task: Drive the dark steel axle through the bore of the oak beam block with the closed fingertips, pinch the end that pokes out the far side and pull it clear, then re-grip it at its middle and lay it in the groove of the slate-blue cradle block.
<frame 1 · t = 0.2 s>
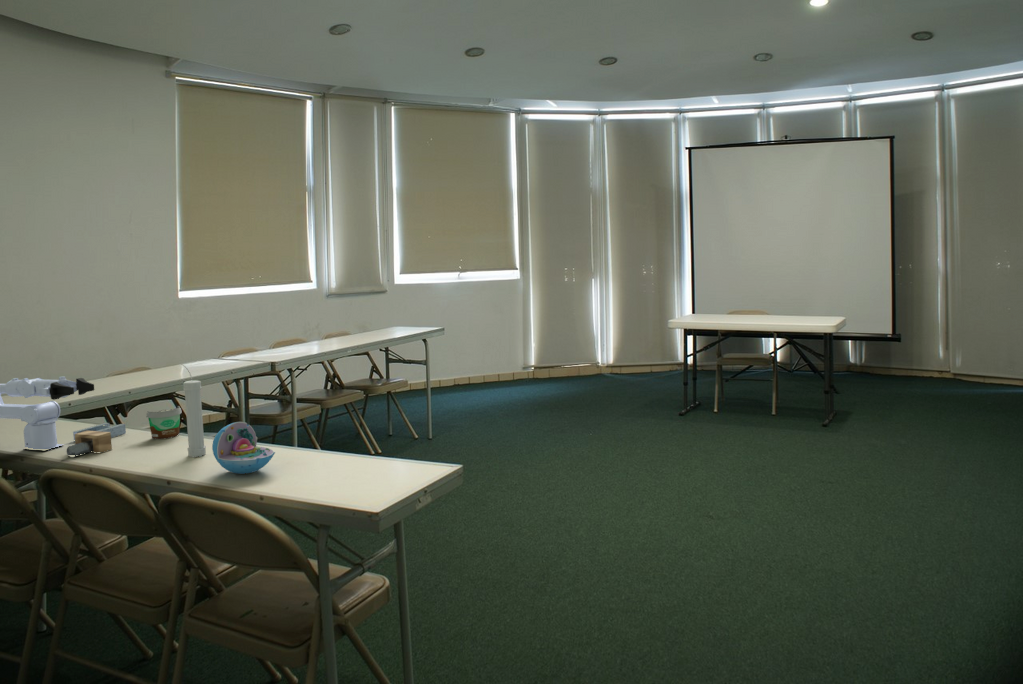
hand: (83, 389, 241), 21 cm above the table, tool horizontal, fingers open, 7 cm apart
educational model: (245, 472, 219), on the table
pipe: (196, 455, 239), on the table
beam: (94, 450, 246), on the table
axle: (87, 453, 244), on the table, tilted 5°
cradle: (100, 437, 264), on the table
food container: (169, 437, 264), on the table
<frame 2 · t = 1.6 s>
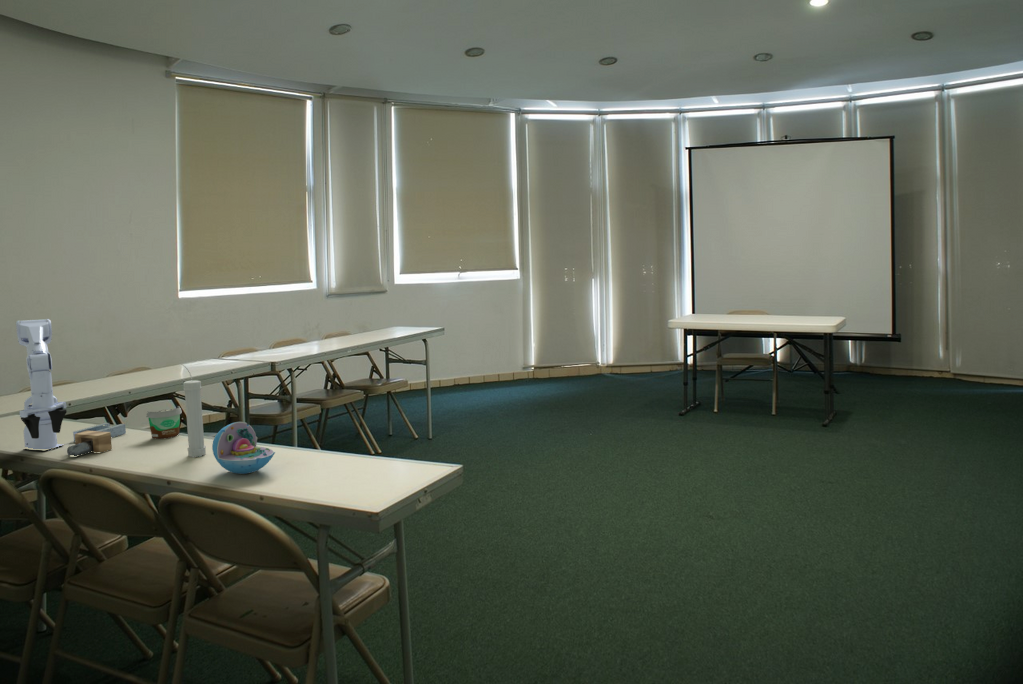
hand: (46, 435, 229), 9 cm above the table, tool pointing down, fingers open, 7 cm apart
nothing on the table moved.
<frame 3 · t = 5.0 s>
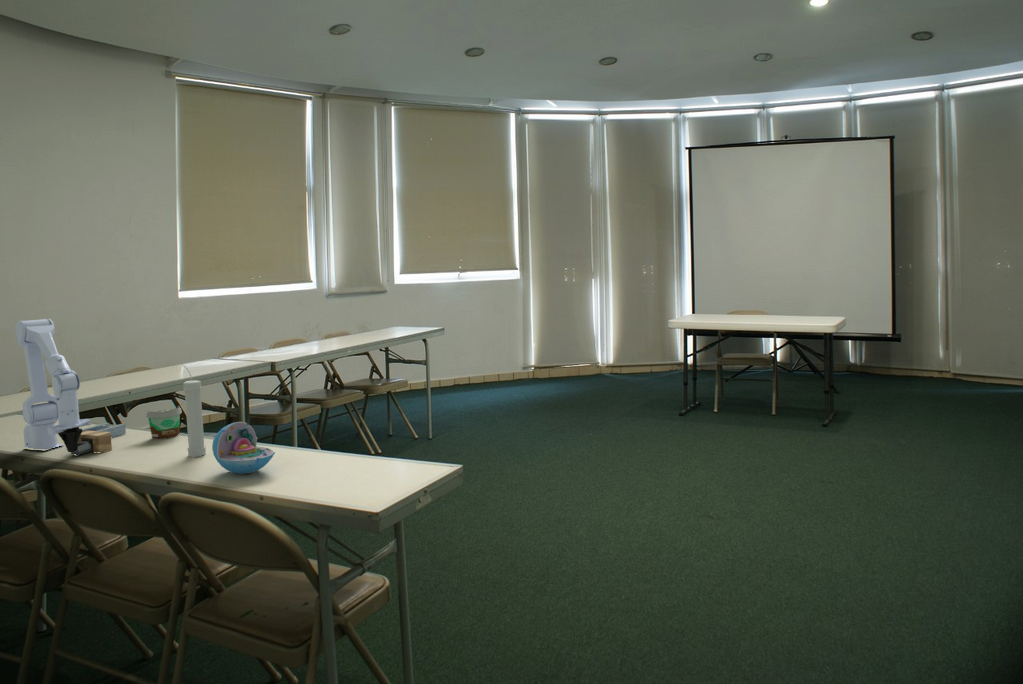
hand: (71, 451, 238), 2 cm above the table, tool pointing down, fingers closed
axle: (91, 451, 245), on the table, tilted 6°, touching gripper
everything else where it was.
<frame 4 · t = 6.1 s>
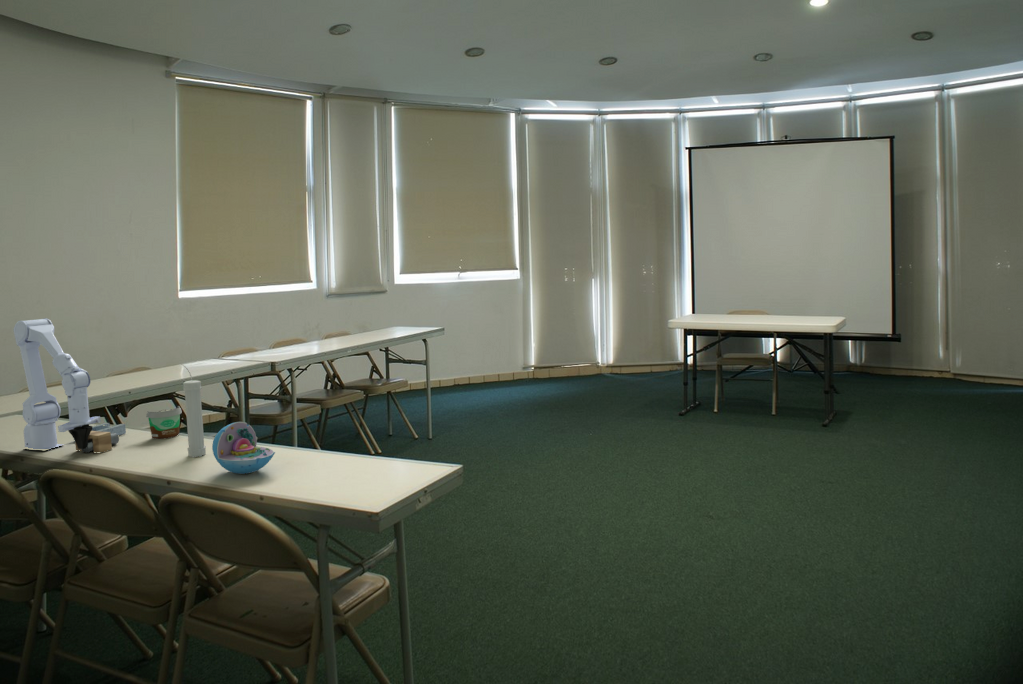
hand: (82, 448, 242), 2 cm above the table, tool pointing down, fingers closed
axle: (100, 448, 249), on the table, tilted 6°, touching gripper
everything else where it was.
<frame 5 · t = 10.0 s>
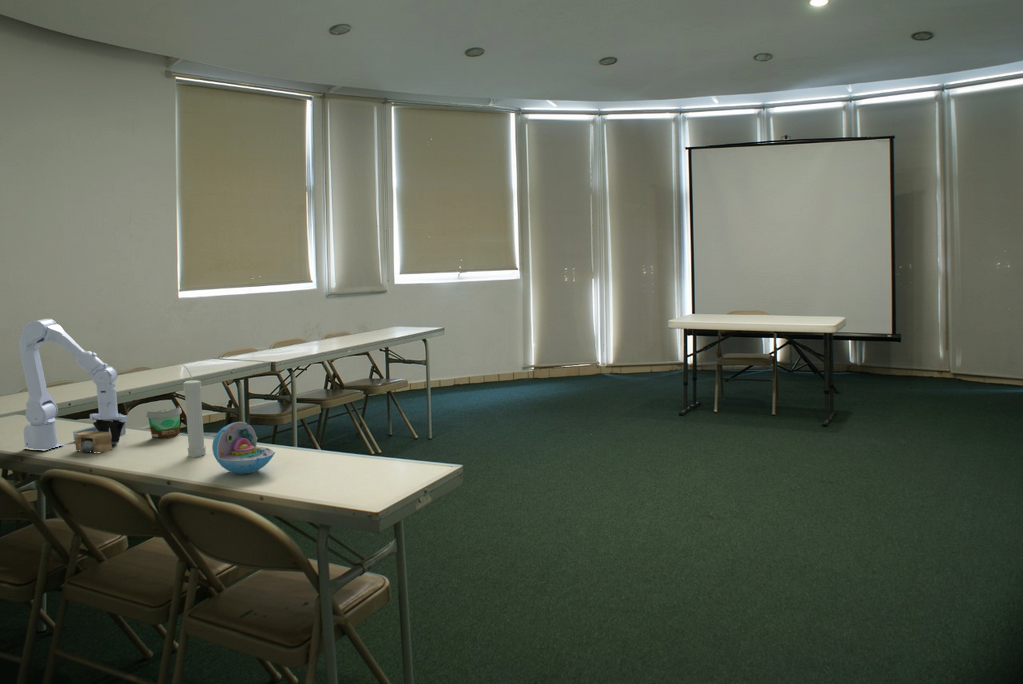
hand: (110, 441, 253), 1 cm above the table, tool pointing down, fingers closed on axle, 4 cm apart
axle: (100, 448, 249), on the table, touching gripper
everything else where it was.
when the fingers open (1 cm above the table, at t = 12.2 s): axle stays where it is, on the table.
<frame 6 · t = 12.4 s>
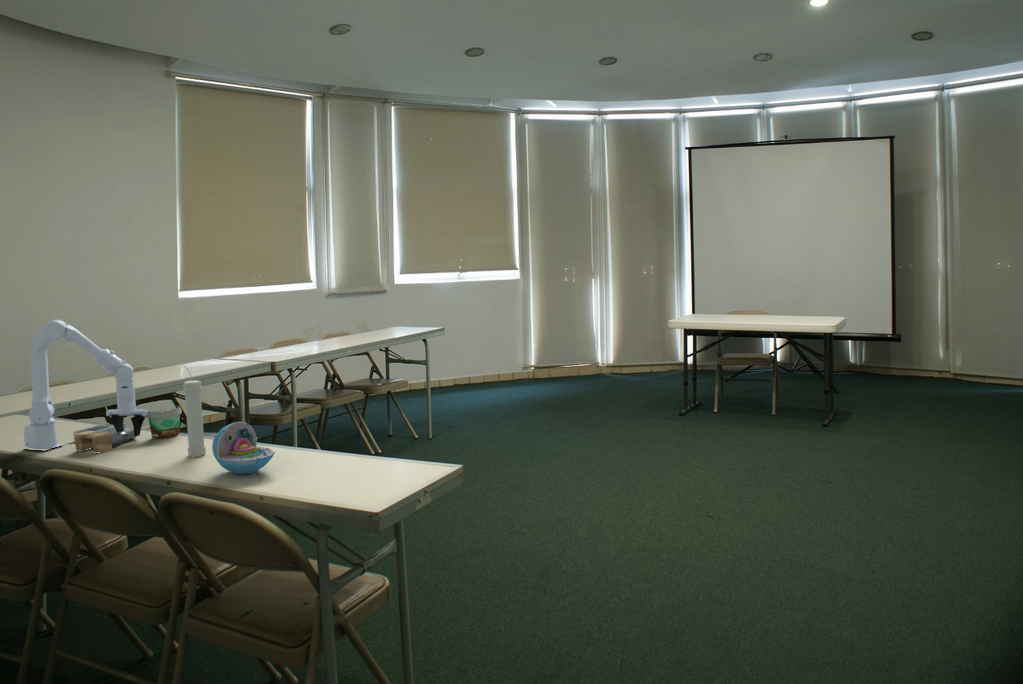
hand: (129, 435, 260), 1 cm above the table, tool pointing down, fingers open, 6 cm apart
axle: (120, 443, 256), on the table
everything else where it was.
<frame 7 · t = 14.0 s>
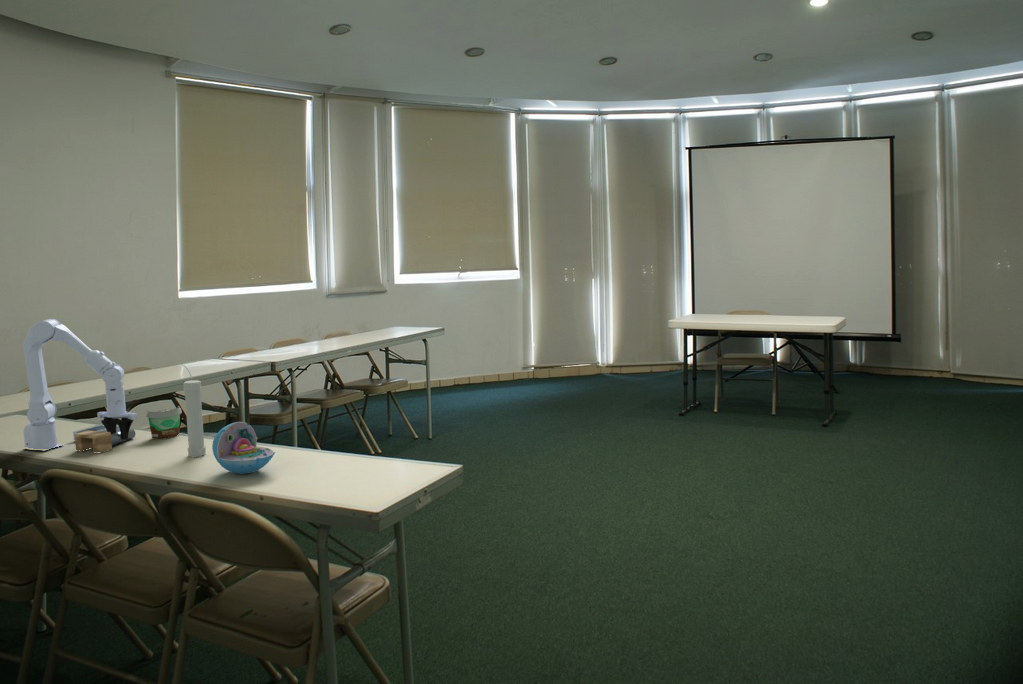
hand: (118, 438, 256), 1 cm above the table, tool pointing down, fingers closed on axle, 4 cm apart
axle: (120, 442, 256), on the table, tilted 18°, touching gripper
everything else where it was.
when the fingers open (5 cm above the table, at t = 17.6 s): axle stays where it is, resting on cradle.
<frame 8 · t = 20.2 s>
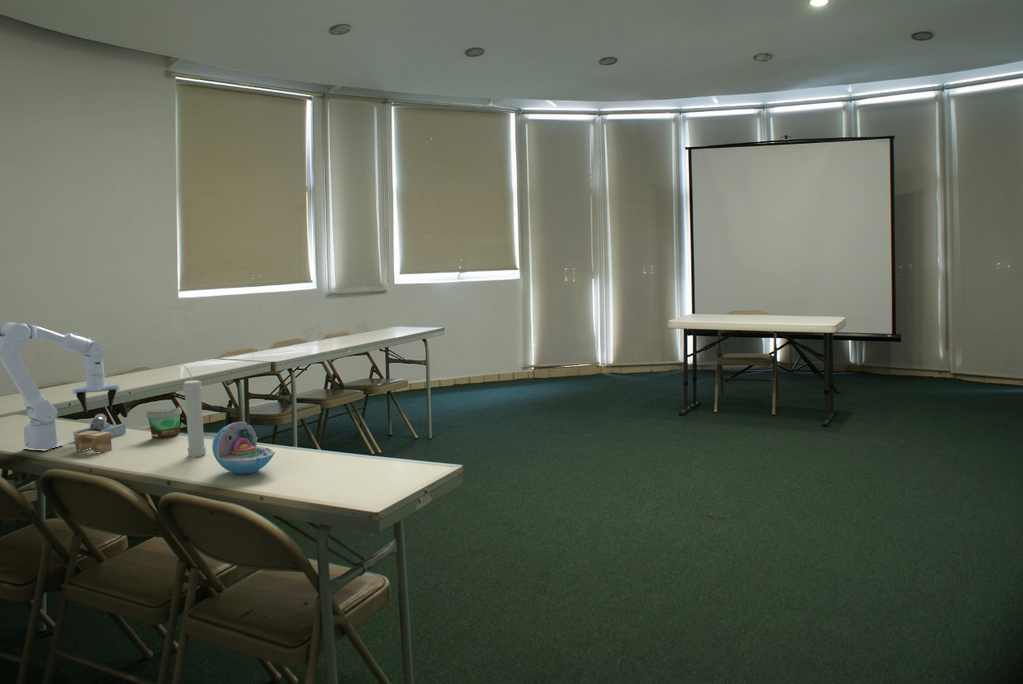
hand: (98, 411, 263), 9 cm above the table, tool pointing down, fingers open, 7 cm apart
axle: (102, 426, 264), point 4 cm above the table, tilted 30°, touching cradle
everything else where it was.
at the end: axle inside the target area on the cradle (0.8 cm from its centre), point 3.8 cm above the cradle's base; axle touching cradle; the gripper is holding nothing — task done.
